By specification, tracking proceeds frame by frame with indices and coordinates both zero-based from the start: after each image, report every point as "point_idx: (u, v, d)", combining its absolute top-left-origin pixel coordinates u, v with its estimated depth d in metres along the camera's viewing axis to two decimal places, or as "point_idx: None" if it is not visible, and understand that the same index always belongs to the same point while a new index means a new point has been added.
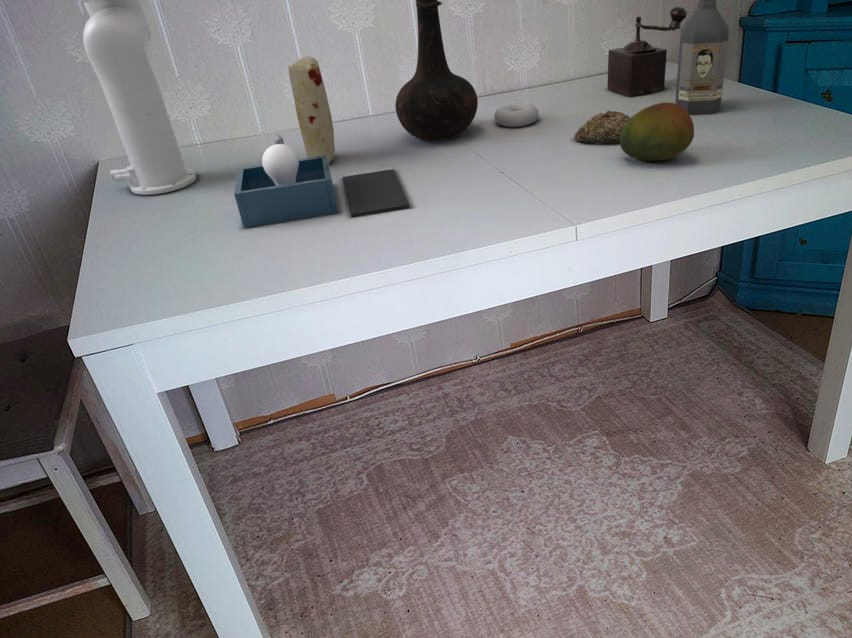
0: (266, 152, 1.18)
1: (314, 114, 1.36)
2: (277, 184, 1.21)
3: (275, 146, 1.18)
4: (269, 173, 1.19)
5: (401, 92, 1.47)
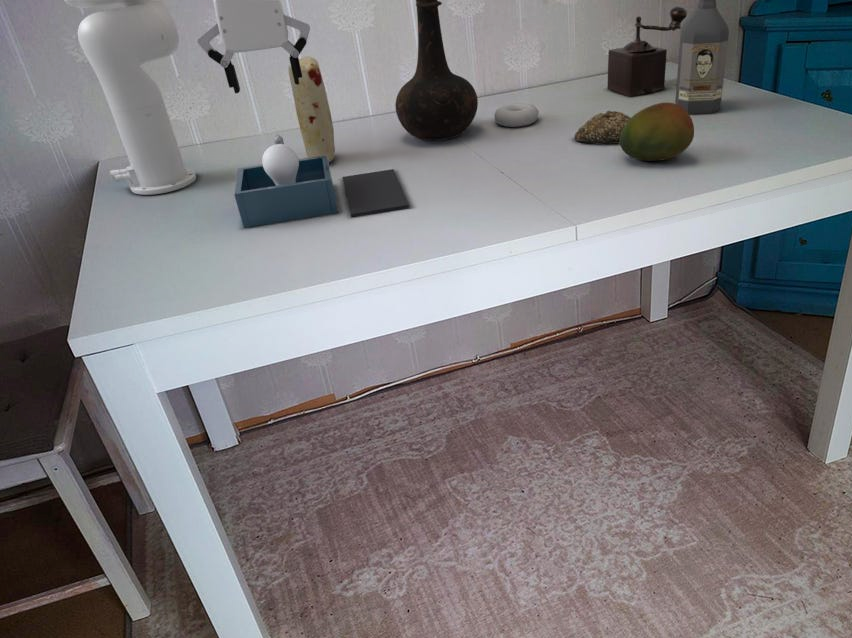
0: (266, 152, 1.18)
1: (314, 114, 1.36)
2: (277, 184, 1.21)
3: (275, 146, 1.18)
4: (269, 173, 1.19)
5: (401, 92, 1.47)
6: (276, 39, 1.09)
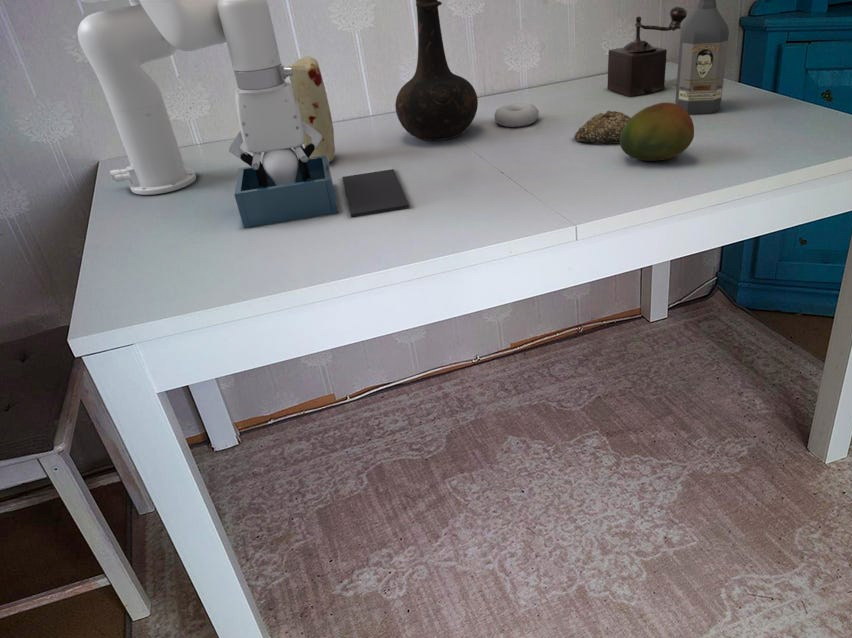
0: (266, 152, 1.18)
1: (314, 114, 1.36)
2: (277, 184, 1.21)
3: None
4: (269, 173, 1.19)
5: (401, 92, 1.47)
6: (294, 141, 1.17)
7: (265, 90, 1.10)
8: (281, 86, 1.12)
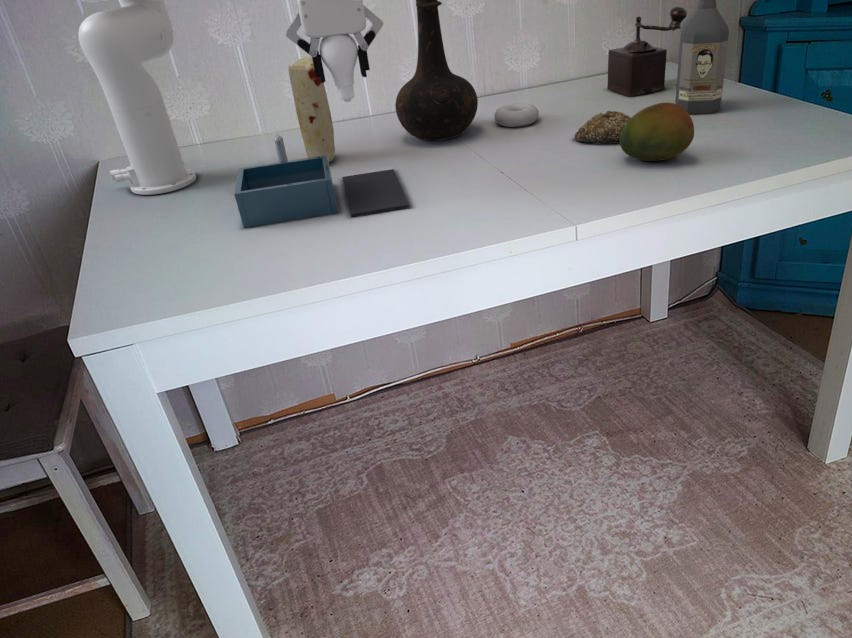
0: (324, 38, 1.11)
1: (314, 114, 1.36)
2: (335, 75, 1.14)
3: None
4: (327, 61, 1.12)
5: (401, 92, 1.47)
6: (355, 25, 1.10)
7: None
8: None
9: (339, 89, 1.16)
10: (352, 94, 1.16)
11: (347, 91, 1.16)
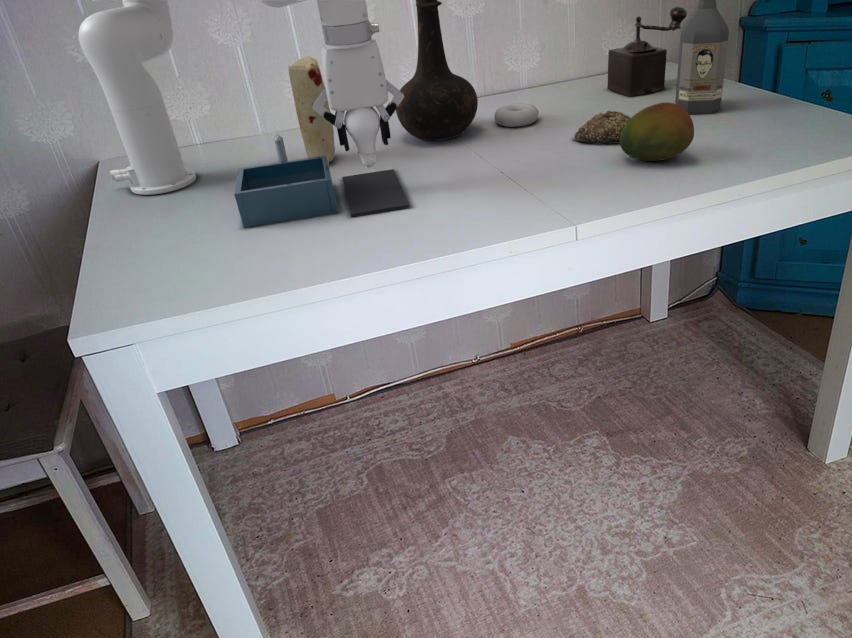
0: (349, 111, 1.18)
1: (314, 114, 1.36)
2: (358, 144, 1.21)
3: None
4: (351, 132, 1.19)
5: None
6: (378, 99, 1.17)
7: (354, 45, 1.10)
8: (369, 42, 1.12)
9: (362, 156, 1.22)
10: (374, 160, 1.23)
11: (370, 158, 1.22)
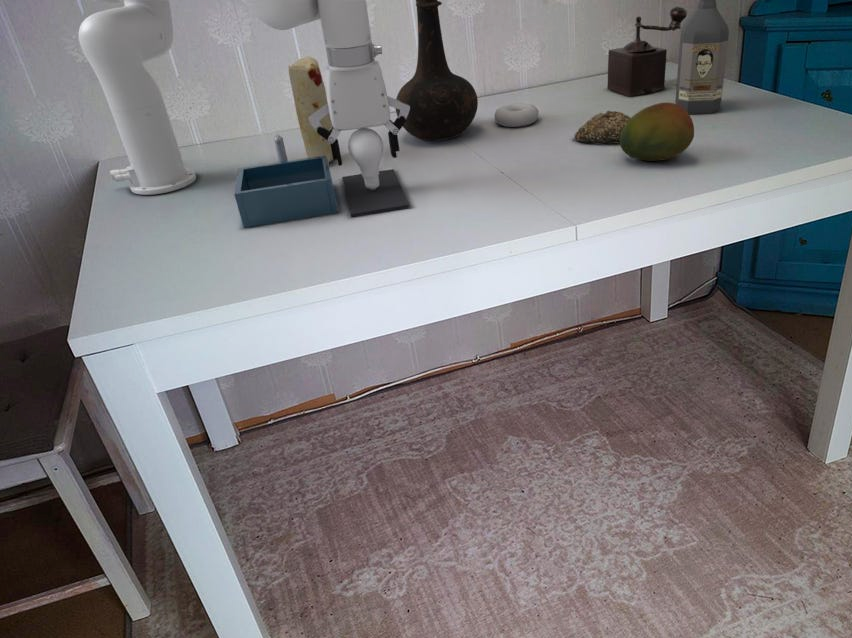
0: (353, 136, 1.20)
1: None
2: (362, 168, 1.23)
3: (362, 130, 1.20)
4: (355, 156, 1.21)
5: (401, 92, 1.47)
6: (380, 119, 1.18)
7: (357, 67, 1.12)
8: (372, 64, 1.14)
9: (365, 179, 1.25)
10: (377, 183, 1.26)
11: (373, 181, 1.25)
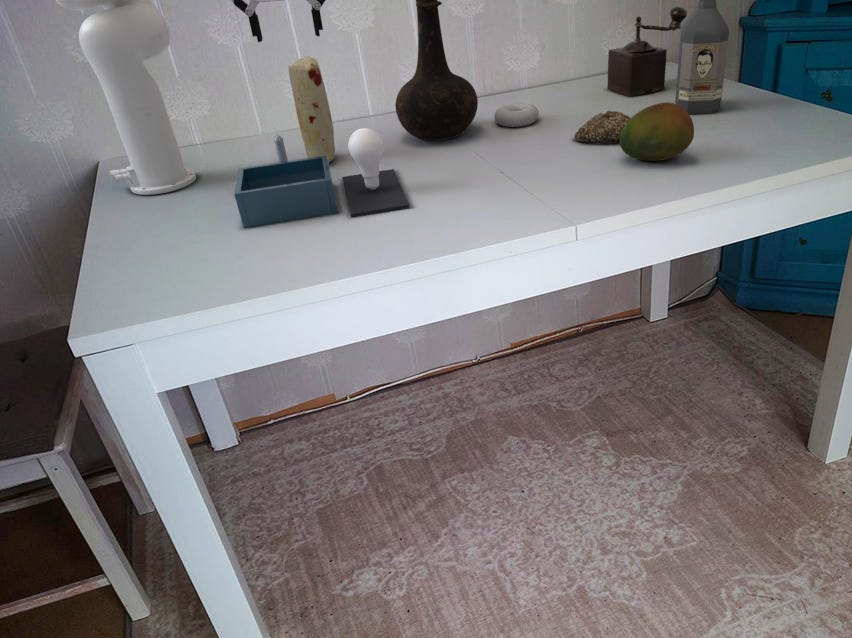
0: (353, 136, 1.20)
1: (314, 114, 1.36)
2: (362, 168, 1.23)
3: (362, 130, 1.20)
4: (355, 156, 1.21)
5: (401, 92, 1.47)
6: None
7: None
8: None
9: (365, 179, 1.25)
10: (377, 183, 1.26)
11: (373, 181, 1.25)
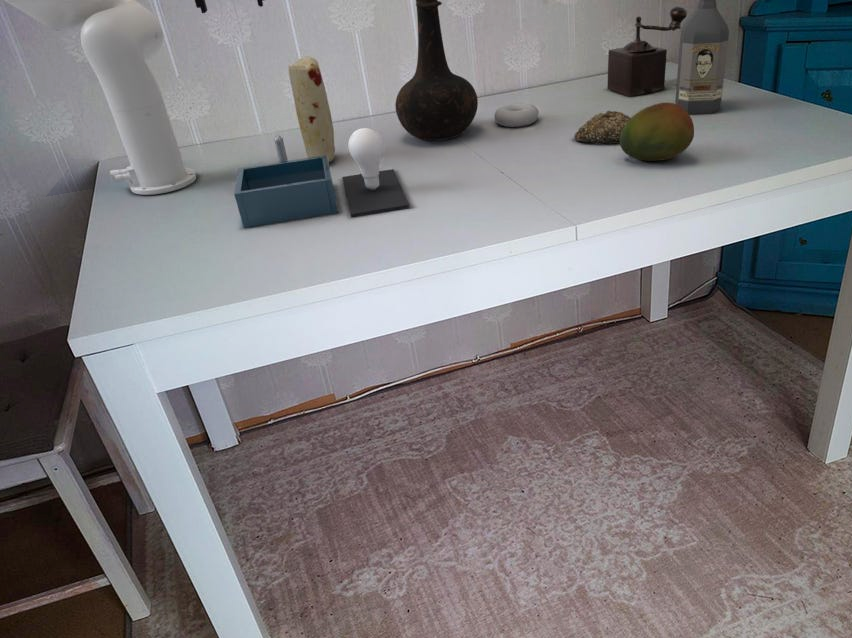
0: (353, 136, 1.20)
1: (314, 114, 1.36)
2: (362, 168, 1.23)
3: (362, 130, 1.20)
4: (355, 156, 1.21)
5: (401, 92, 1.47)
6: None
7: None
8: None
9: (365, 179, 1.25)
10: (377, 183, 1.26)
11: (373, 181, 1.25)
